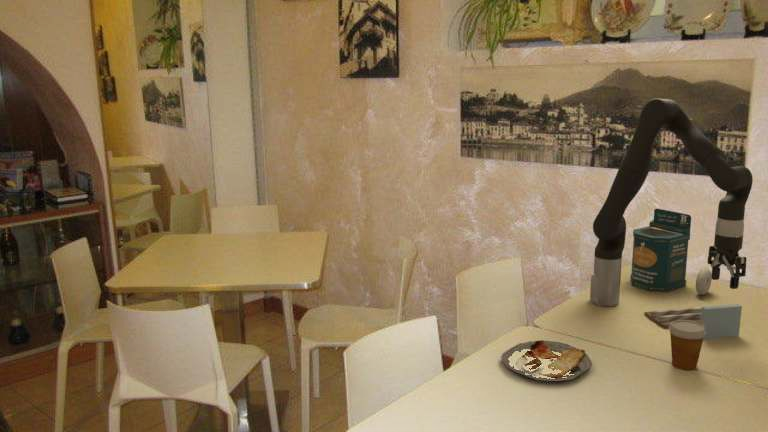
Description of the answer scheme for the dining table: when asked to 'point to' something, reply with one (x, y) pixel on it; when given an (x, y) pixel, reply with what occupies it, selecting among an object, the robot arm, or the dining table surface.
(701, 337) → the disposable coffee cup
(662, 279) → the donation box
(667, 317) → the floor track
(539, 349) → the food plate
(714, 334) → the door panel
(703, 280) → the beige flat disc
